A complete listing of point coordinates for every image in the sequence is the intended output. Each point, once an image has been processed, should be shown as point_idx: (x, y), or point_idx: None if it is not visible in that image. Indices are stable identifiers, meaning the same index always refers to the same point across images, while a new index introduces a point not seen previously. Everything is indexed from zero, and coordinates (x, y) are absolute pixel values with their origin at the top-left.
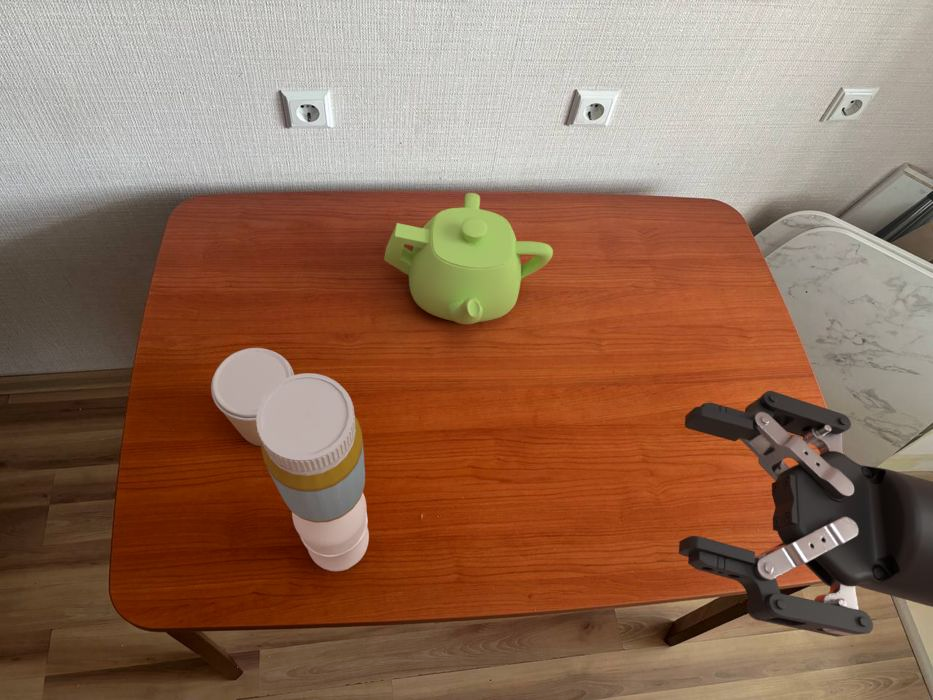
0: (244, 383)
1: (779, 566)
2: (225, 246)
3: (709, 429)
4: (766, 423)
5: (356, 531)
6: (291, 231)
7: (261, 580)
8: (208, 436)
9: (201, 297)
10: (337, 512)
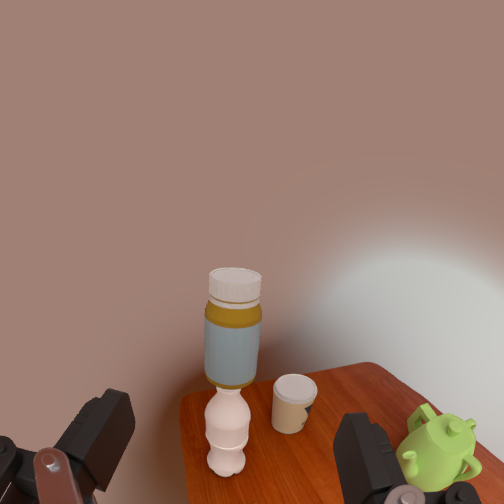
0: (293, 384)
1: (48, 481)
2: (366, 378)
3: (343, 462)
4: (401, 502)
5: (215, 426)
6: (392, 393)
7: (200, 437)
8: (269, 404)
9: (336, 381)
10: (208, 368)
